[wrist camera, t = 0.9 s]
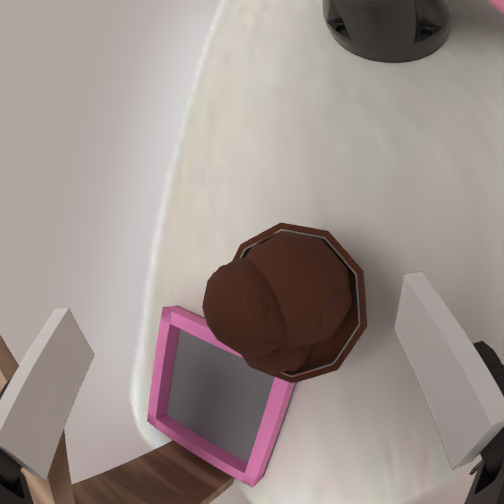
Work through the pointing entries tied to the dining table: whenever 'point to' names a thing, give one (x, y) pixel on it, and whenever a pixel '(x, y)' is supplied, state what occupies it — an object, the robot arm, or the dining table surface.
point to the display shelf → (126, 473)
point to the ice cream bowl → (288, 302)
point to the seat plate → (214, 398)
